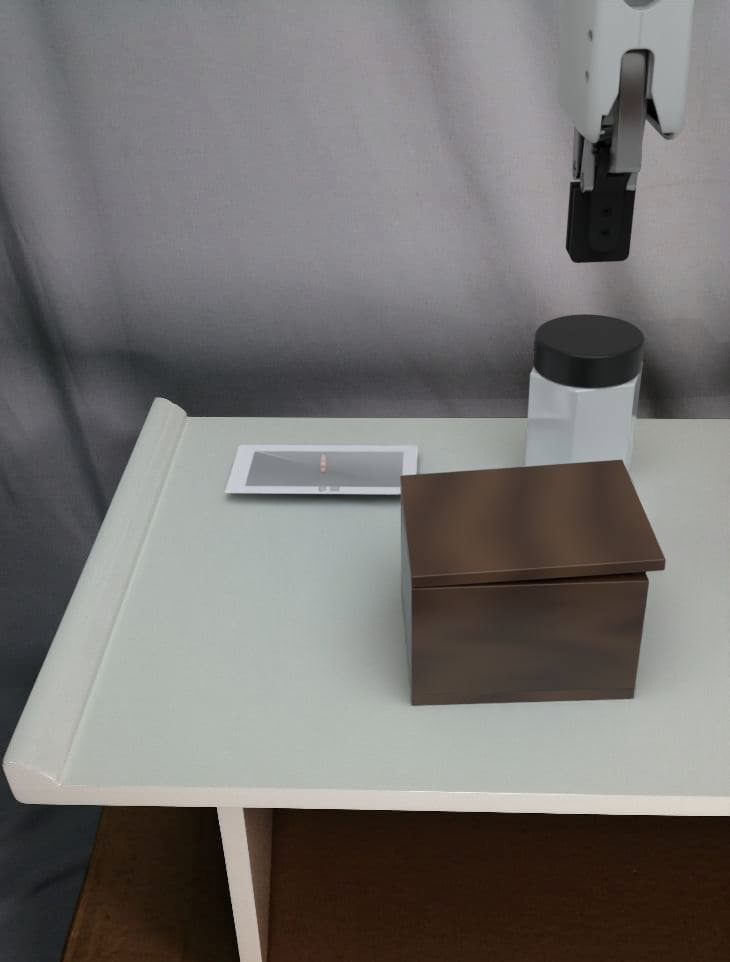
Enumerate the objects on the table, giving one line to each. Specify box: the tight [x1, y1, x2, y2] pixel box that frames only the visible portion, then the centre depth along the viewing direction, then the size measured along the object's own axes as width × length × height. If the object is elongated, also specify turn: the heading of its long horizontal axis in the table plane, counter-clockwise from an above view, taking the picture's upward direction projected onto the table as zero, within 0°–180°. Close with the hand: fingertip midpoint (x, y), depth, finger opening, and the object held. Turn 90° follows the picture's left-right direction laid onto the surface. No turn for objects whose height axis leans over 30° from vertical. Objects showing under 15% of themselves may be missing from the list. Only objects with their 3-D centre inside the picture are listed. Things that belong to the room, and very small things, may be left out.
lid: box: [400, 460, 667, 588], centre depth 72 cm, size 14×12×1 cm
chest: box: [400, 493, 650, 706], centre depth 74 cm, size 14×12×9 cm
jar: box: [524, 313, 645, 473], centre depth 92 cm, size 9×8×12 cm
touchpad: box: [224, 444, 419, 495], centre depth 95 cm, size 8×15×2 cm, turn 85°
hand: (596, 256), depth 65 cm, fingers closed
